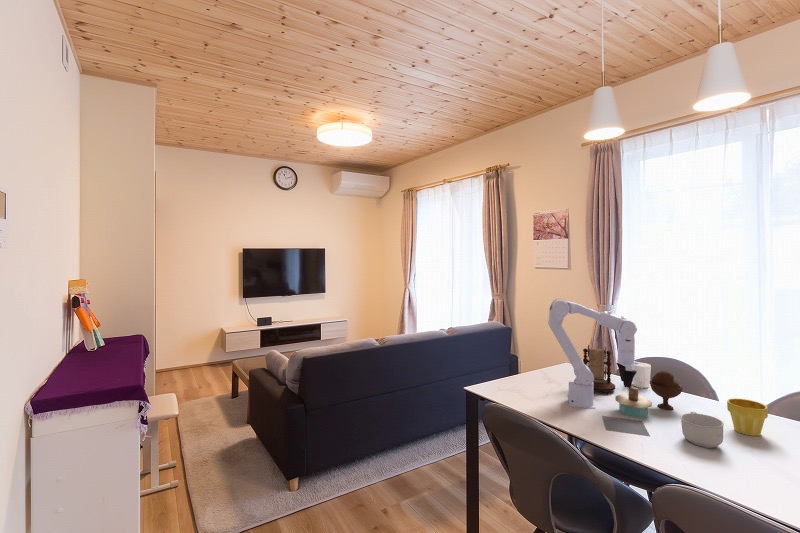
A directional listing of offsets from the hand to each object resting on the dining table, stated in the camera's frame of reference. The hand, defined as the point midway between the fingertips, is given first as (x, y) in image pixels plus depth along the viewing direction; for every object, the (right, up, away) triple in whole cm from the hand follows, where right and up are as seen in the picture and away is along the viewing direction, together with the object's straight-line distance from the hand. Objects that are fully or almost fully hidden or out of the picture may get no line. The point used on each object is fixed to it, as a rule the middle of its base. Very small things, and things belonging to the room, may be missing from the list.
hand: (625, 384), depth 151 cm
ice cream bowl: (+16, -10, +1) cm, 19 cm away
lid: (0, -5, -5) cm, 7 cm away
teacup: (+8, -11, -27) cm, 30 cm away
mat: (-10, -10, -15) cm, 21 cm away
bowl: (0, -10, -4) cm, 11 cm away
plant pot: (+29, -10, -20) cm, 37 cm away
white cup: (+23, -9, +28) cm, 38 cm away
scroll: (+1, -10, +23) cm, 25 cm away
